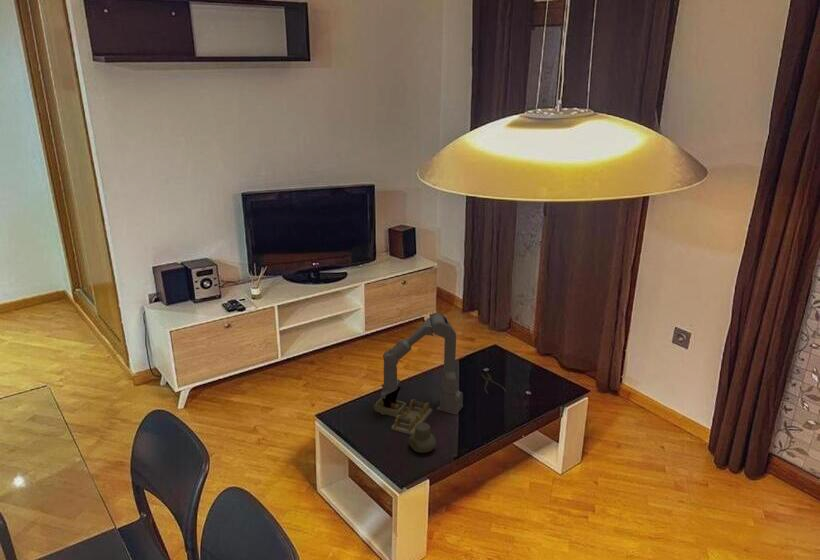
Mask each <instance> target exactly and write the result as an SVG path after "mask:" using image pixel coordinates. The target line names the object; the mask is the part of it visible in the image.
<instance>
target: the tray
mask: <svg viewBox="0 0 820 560" xmlns="http://www.w3.org/2000/svg"><path fill="white" fill-rule="evenodd" d="M382 401H383V400H382V398H379V399H378V400H377V401H376V402H375V403H374V405H373V412H375V413H380V414H382V415H386V416H391V417H395V418H396V416H397V415H402V412H405V411H406V407H408V403H407V402H405V401H402V400H398V399H396V402H395V403H393V402H391V403H393V404H399V405H400V408H399V410H394V409H391V408H387V407H383V406H381V403H382Z"/></svg>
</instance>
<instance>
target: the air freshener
mask: <svg viewBox="0 0 820 560" xmlns="http://www.w3.org/2000/svg"><path fill="white" fill-rule="evenodd" d="M408 443H409V446H410V448H411V449H412V450H413V451H415V452H417V453H421V454H423V453H428V452H431V451H433V450H434V448H436V446H437V440H436V438H435V436H434V434H432V433H431V425H430V424H428V423H426V422H423V423H418V424H417V425H416V426H415V433H413V434H412V435H410V436H409V438H408Z"/></svg>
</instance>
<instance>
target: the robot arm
mask: <svg viewBox="0 0 820 560" xmlns="http://www.w3.org/2000/svg"><path fill="white" fill-rule="evenodd" d="M434 335H436V336H438V337H442V338H444V345H443V346H444V348H443V351H444V353H443V355H444V356H443V357H444V359H443V369H442V374H441V376H440V381H441V386H440V401H439V403H440V404H439V405H438V406H437V408H436V410H437V411H441V412H445V413H449V414H453V415H458V414H459V412H460V411H461V410H462V408H463V407H464V403H463V402H464V393H463V392H462V391H460V390H459V384H458V383H457V376H456V350H457V333H456V331H455V329H454V328H453V326H452V325H451V322H449V320H448V318H447V317H446V316H445V315H443V314H442V313H440V312H439V313H438V312H435V313H433V314H431V315H430V317H427V318H426V319H425V320H424V322H423V323H422V324H421V325H420V326H419V327H418V328H416V330H415V331H413V332H412V334H411V335H409V336H408V338H405V339H404V338H402V339H401V340H397V342H396V344H395V345H394V346H393V347H392V348H391V347H390V348H389V349H387V350H386V351H384V353H383V354H382V357H383V383H382V384H381V388H382V389H381V392H380V394H379V397H380V398H382V400H383V402H384V405H385V407H387V408H390V406H391V402H393V403H395V402H396V400H398V395H399V392H400V390H401V389H402V388H401V386H399V385H400V384H401V380H400V379H398V367H397V365H399V360H401V359H402V358H403V357H405V356H406V355H407V354H408V353H409V352H410V351H411V350H412V346H413V345H414V344H416V343H417V342H418V341H420V340H421V339H423V337H425V336H434ZM380 398H379V399H380Z"/></svg>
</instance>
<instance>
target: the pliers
mask: <svg viewBox="0 0 820 560" xmlns="http://www.w3.org/2000/svg"><path fill="white" fill-rule="evenodd" d="M480 375H481V378H482V379H483V380H484V382H485V384H484V389H483V390H484V392H485V393H486V394H487V395H490V394H489V392H488V391H487V390H488V389H487V386H488V385H489V382H491V383H492V384H494V385H496V386H498V387H500V388H501V389H502V390H503V391H504V393H507V391H506V389H505V387H504V386H503V385H502V384H499V383H498V382H496V381H494V380H493V378H492V376H491V375H490V373H488V372H486V375H484V373H483V372H481V373H480Z"/></svg>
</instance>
